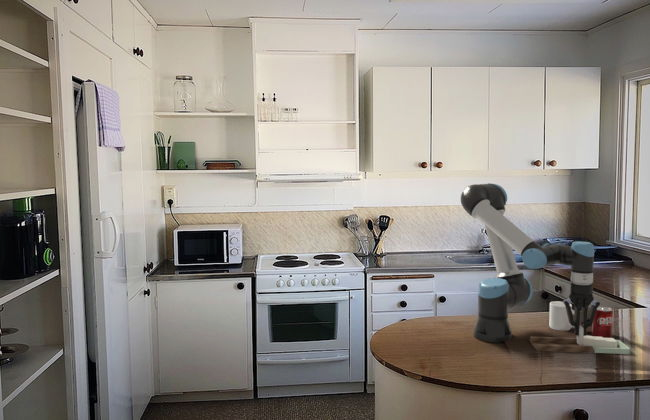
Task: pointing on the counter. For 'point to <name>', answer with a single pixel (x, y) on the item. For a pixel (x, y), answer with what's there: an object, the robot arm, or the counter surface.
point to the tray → (614, 349)
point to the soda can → (603, 322)
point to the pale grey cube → (588, 341)
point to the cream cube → (611, 343)
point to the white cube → (600, 342)
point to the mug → (559, 316)
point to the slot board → (558, 344)
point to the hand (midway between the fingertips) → (579, 343)
